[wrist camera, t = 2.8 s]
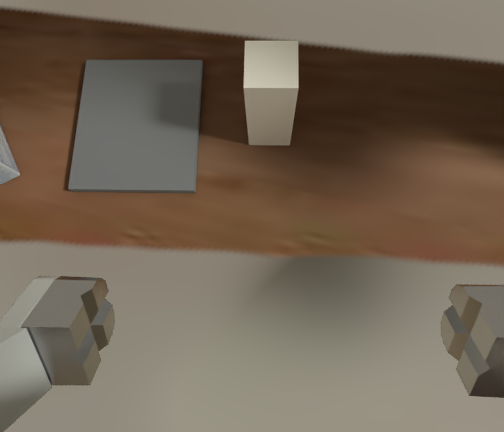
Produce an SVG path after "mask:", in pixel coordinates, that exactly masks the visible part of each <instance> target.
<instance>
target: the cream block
mask: <svg viewBox="0 0 504 432" xmlns="http://www.w3.org/2000/svg"><path fill="white" fill-rule="evenodd" d="M298 88H299V83H298V41H245V58H244V98H245V108H246V119H247V129H248V140H249V145H290V141H291V134H292V128H293V121H294V115H295V108H296V101H297V95H298Z"/></svg>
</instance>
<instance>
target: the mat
mask: <svg viewBox="0 0 504 432" xmlns="http://www.w3.org/2000/svg"><path fill="white" fill-rule="evenodd" d="M202 76H203V62H202V60H86V67H85V74H84V81H83V88H82V95H81V102H80V109H79V116H78V123H77V130H76V137H75V144H74V151H73V158H72V165H71V172H70V179H69V186H68V189H69V190H70V191H72V192H144V193H195V192H196V176H197V159H198V142H199V126H200V109H201V93H202Z"/></svg>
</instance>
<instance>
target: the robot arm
mask: <svg viewBox="0 0 504 432" xmlns="http://www.w3.org/2000/svg"><path fill="white" fill-rule="evenodd" d="M107 293H108V287H107V284H106V281H105V280H104V279H102V278H89V277H66V276H61V277H55V276H39V277H37V278H34V279H33V280H32V282H31V283H30V284H29V285H28V287H27V288H26V289H25V290H24V292H23V293H22V294H21V296H20V297H19V298H18V299H17V300H16V302H15V303H14V304H13V305H12V307H11V308H10V309H9V310H8V312H7V313H6V314H5V315H4V317H3V318H2V319H1V320H0V432H4V431H5V430H6V429H7V428H8V427H9V426H10V425H11V424H13V423H14V422H15V421H16V420H17V419H18V418H19V417H20V416H21V415H22V414H24V413H25V412H26V411H27V410H28V409H29V408H30V407H31V406H32V405H34V404H35V403H36V402H37V401H38V400H39V399H40V398H41V397H42V396H43V395H45V394H46V393H47V392H48V391H49V390H50V389H51V388H52V385H90V384H91V382H92V379H93V377H94V375H95V373H96V371H97V368H98V366H99V364H100V361H101V358H100V354H99V351H100V350H101V349H103V348H104V347H105V346H107V345H108V344H109V341H110V339H111V336H112V334H113V329H114V322H115V318H114V310H113V306H112V304H111V303H110V302H108V301H107V300H106V299H105V297H106V295H107ZM449 299H450V300H451V302H452V304H453V305H452V306H451V307H449V308H448V309H447V310H445V311H444V313H443V316H442V320H441V336H442V340H443V343H444V345H445V347H446V350H447V352H448V353H449V354H450V355H452V356H453V357H454V358H456V359H457V360H458V361H459V362H458V365H457V368H456V370H457V372H458V374H459V376H460V378H461V380H462V382H463V384H464V386H465V388H466V390H467V392H468V394H469V396H480V397H499V398H504V285H455V286H454V287H453V288H452V290H451V293H450V296H449Z"/></svg>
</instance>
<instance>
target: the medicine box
mask: <svg viewBox="0 0 504 432" xmlns="http://www.w3.org/2000/svg"><path fill="white" fill-rule="evenodd" d="M18 176H20V173H19V170H18V168H17V166H16V163H15V161H14V158H13V155H12V153H11V150H10V148H9V145H8V143H7V140H6V138H5V135H4V133H3V130H2V128H1V125H0V184H2V183H5V182H7V181H9V180H11V179H14V178H16V177H18Z"/></svg>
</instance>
